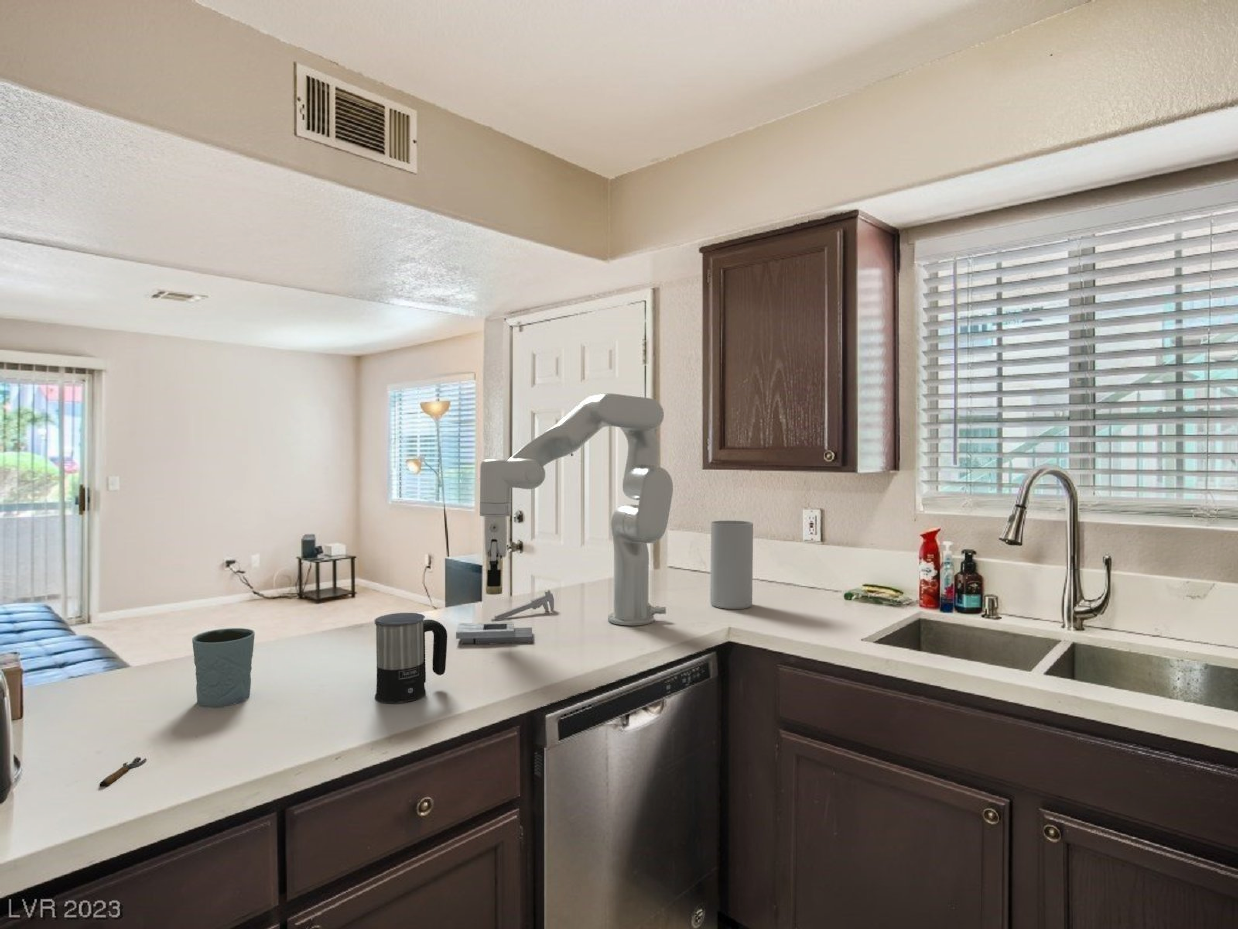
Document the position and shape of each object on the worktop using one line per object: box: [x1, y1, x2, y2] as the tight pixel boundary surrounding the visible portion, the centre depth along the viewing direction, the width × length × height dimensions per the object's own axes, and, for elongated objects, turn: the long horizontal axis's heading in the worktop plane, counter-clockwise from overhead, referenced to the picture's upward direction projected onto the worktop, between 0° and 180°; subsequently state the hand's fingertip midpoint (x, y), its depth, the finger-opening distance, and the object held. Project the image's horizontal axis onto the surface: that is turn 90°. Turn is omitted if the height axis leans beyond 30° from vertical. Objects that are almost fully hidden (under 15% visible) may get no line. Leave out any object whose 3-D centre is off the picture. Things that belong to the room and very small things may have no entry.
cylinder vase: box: [709, 520, 754, 610], centre depth 215 cm, size 12×12×25 cm
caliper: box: [490, 589, 555, 622], centre depth 200 cm, size 20×1×6 cm, turn 131°
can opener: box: [99, 756, 147, 788], centre depth 102 cm, size 9×2×1 cm, turn 178°
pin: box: [485, 552, 504, 596], centre depth 175 cm, size 4×4×10 cm
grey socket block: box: [455, 621, 533, 645], centre depth 175 cm, size 18×9×3 cm, turn 98°
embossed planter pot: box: [191, 627, 256, 708], centre depth 132 cm, size 10×10×12 cm
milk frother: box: [373, 612, 448, 704], centre depth 138 cm, size 14×16×15 cm
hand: (494, 583), depth 175 cm, fingers closed on pin, 4 cm apart
